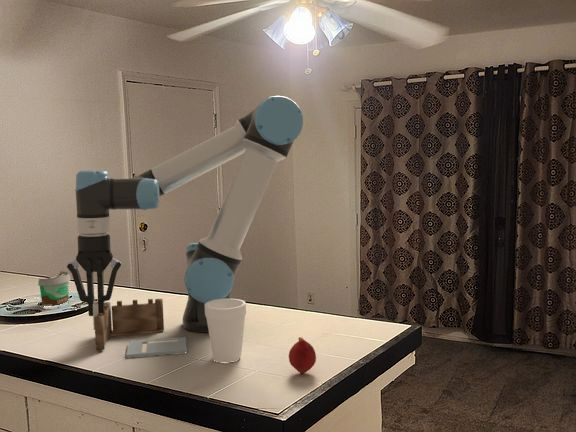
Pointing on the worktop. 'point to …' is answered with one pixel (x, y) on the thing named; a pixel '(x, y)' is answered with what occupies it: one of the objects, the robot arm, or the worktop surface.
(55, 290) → the food container
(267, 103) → the robot arm
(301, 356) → the onion
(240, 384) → the worktop surface
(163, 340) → the card
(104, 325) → the fence hinged panel
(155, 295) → the worktop surface
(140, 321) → the fence fixed panel
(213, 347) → the foam cup
